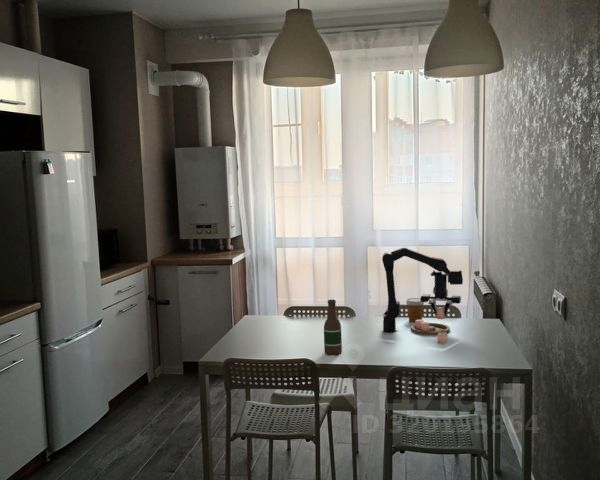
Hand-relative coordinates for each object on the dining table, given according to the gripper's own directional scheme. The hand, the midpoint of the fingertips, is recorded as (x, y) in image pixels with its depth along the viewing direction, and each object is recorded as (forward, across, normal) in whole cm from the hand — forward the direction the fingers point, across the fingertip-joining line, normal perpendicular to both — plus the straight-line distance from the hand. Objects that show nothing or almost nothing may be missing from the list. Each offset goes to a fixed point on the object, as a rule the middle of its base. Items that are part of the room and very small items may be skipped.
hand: (440, 316), depth 295 cm
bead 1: (+1, 0, 0) cm, 1 cm away
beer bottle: (+8, +40, +47) cm, 62 cm away
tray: (+8, +5, 0) cm, 10 cm away
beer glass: (+8, +16, -18) cm, 25 cm away
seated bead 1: (+8, +10, +1) cm, 13 cm away
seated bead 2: (+8, +7, +5) cm, 11 cm away
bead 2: (+8, -4, +20) cm, 22 cm away
